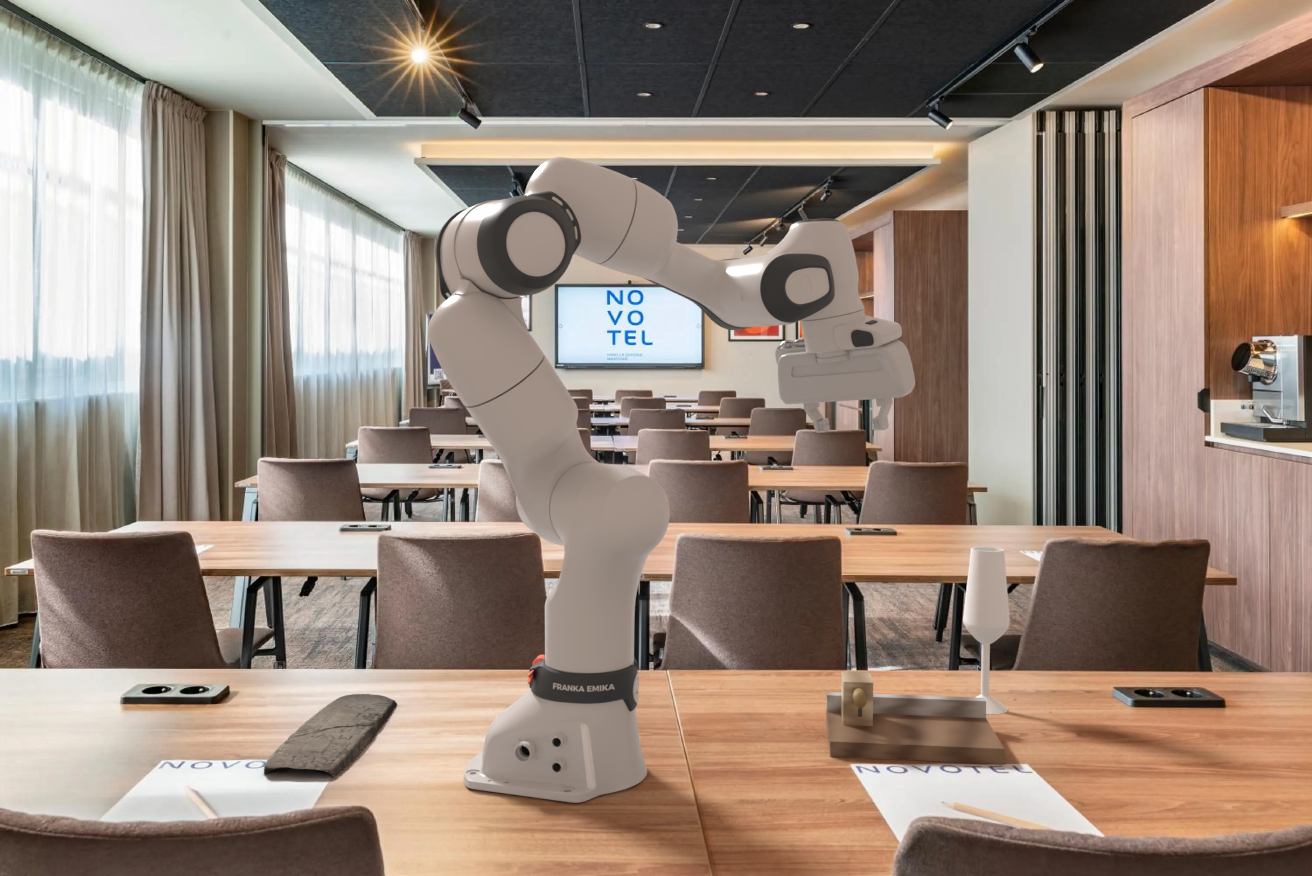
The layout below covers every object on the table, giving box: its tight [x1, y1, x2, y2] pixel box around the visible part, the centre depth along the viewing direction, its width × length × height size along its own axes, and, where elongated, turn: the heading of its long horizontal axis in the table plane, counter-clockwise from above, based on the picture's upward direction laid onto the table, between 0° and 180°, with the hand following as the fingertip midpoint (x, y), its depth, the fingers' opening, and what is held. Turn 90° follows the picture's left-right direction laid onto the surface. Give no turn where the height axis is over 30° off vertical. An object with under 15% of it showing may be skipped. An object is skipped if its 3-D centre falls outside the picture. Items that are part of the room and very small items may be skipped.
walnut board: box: [825, 691, 1005, 765], centre depth 141 cm, size 22×14×4 cm, turn 83°
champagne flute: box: [962, 546, 1011, 715], centre depth 156 cm, size 7×7×24 cm
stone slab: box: [263, 693, 398, 778], centre depth 143 cm, size 10×3×30 cm
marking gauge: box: [840, 671, 874, 726], centre depth 142 cm, size 4×9×6 cm, turn 173°
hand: (851, 430), depth 147 cm, fingers open, 8 cm apart
